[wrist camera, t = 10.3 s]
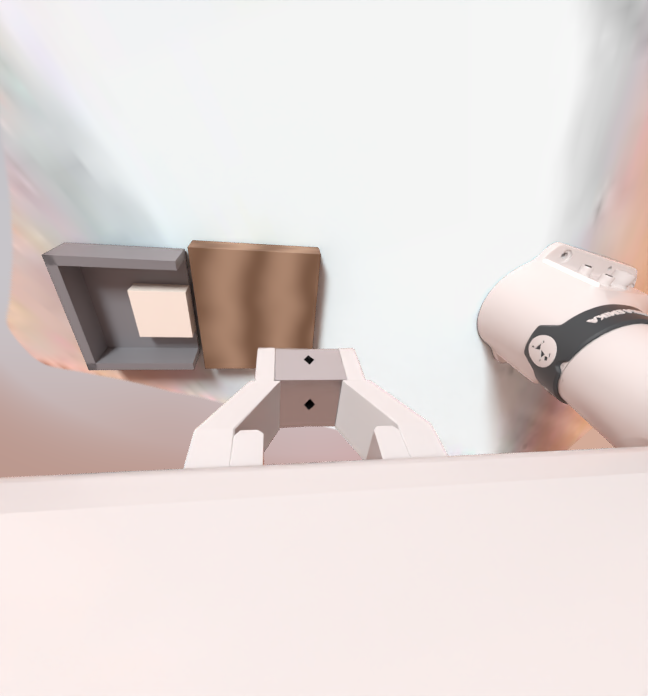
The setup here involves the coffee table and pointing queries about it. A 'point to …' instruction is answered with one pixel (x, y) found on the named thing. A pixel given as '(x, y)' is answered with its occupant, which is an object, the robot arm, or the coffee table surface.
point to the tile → (162, 310)
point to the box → (118, 304)
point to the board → (253, 299)
